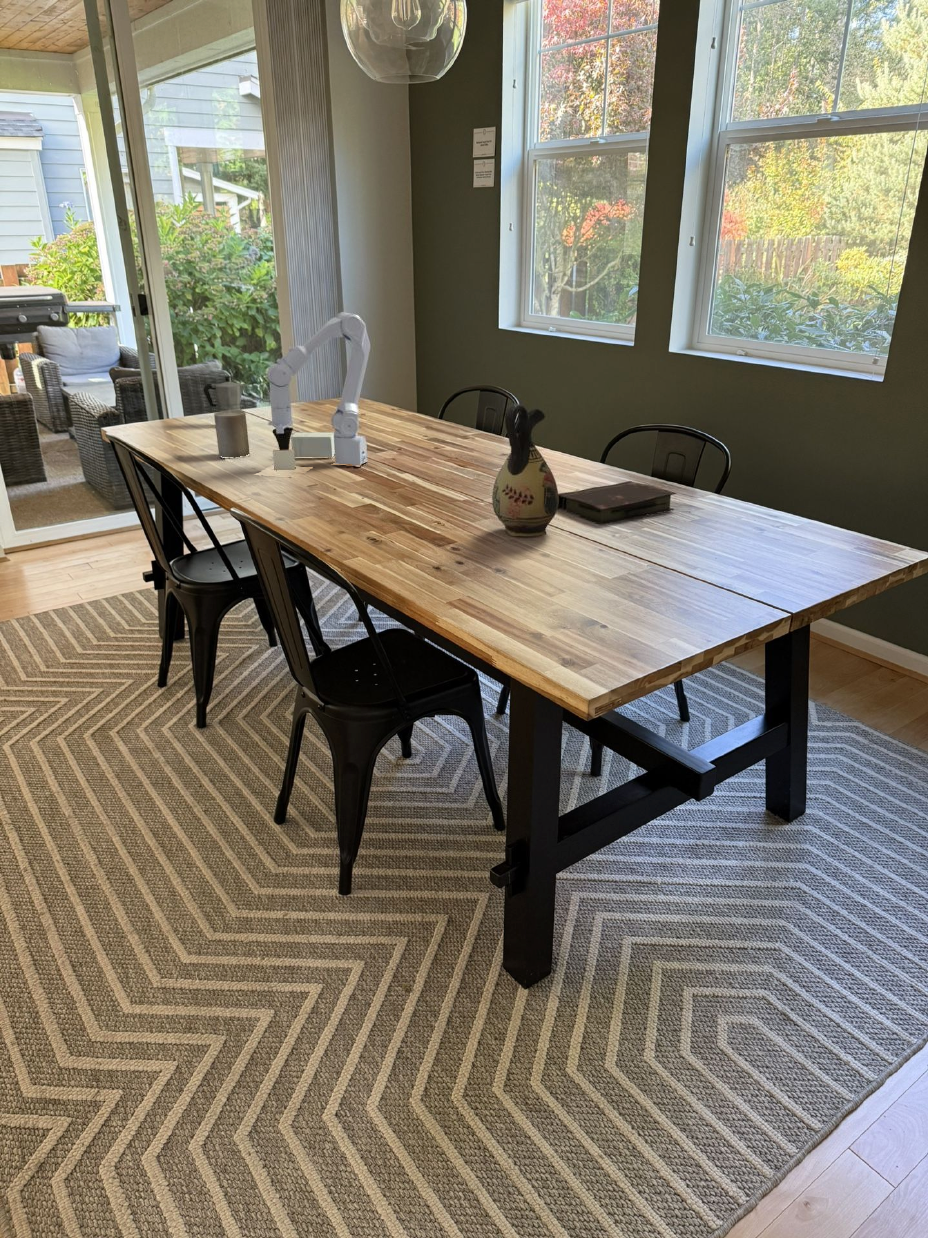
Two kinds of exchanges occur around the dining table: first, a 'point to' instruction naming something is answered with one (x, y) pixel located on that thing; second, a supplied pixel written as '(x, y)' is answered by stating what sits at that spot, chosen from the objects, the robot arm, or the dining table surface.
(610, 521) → the diary
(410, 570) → the dining table surface
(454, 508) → the dining table surface
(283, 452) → the terracotta tile
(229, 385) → the coffeepot
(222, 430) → the pillar candle
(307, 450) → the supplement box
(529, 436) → the ceramic jug
